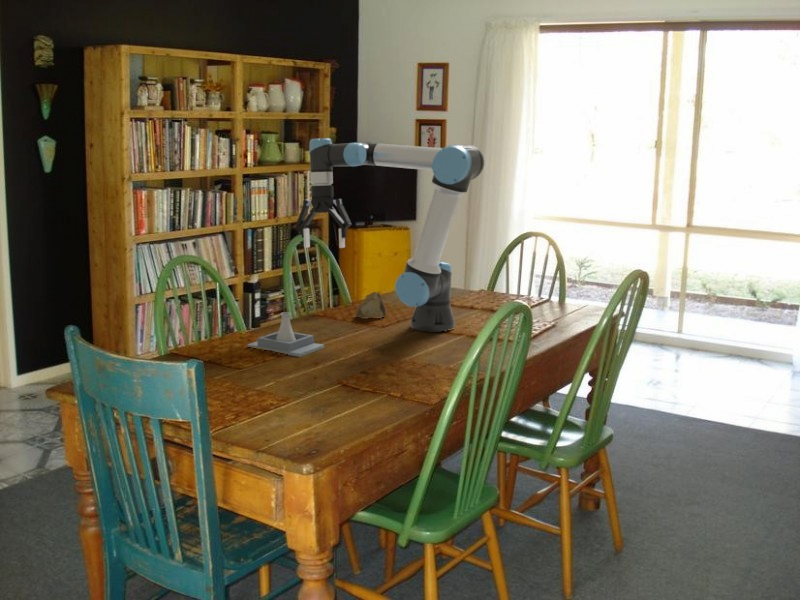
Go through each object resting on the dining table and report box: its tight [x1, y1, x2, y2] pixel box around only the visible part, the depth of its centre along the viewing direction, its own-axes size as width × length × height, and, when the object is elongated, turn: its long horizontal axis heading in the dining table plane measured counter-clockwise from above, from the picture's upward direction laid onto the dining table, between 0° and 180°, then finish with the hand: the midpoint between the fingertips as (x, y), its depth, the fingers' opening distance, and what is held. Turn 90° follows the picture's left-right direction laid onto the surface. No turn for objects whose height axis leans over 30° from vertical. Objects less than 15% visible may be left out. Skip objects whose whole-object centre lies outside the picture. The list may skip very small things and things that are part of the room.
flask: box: [276, 311, 296, 342], centre depth 286 cm, size 7×7×10 cm
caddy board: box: [246, 330, 325, 358], centre depth 286 cm, size 20×13×4 cm, turn 60°
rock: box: [355, 291, 387, 318], centre depth 331 cm, size 11×9×10 cm
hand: (324, 247), depth 313 cm, fingers open, 13 cm apart
